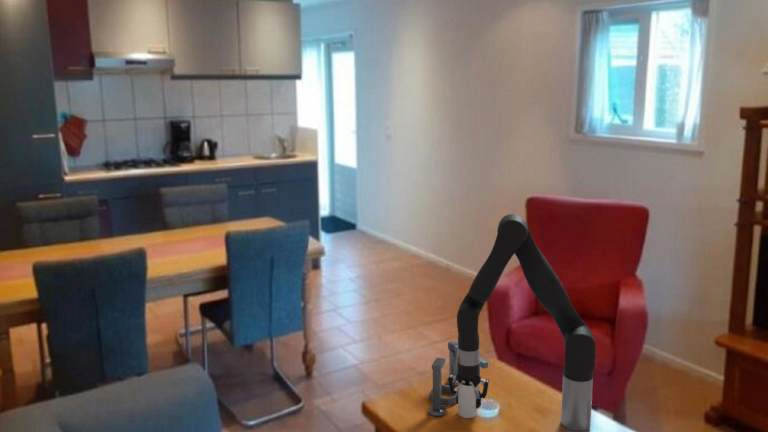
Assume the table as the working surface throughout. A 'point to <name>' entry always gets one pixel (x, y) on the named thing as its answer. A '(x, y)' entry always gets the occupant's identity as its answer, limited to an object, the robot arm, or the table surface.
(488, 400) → the table surface
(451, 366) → the pivot post
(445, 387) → the collar
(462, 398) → the can
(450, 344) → the swing arm
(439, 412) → the dark grey piece
